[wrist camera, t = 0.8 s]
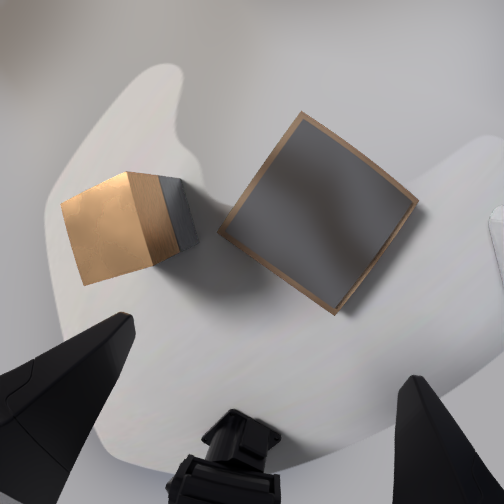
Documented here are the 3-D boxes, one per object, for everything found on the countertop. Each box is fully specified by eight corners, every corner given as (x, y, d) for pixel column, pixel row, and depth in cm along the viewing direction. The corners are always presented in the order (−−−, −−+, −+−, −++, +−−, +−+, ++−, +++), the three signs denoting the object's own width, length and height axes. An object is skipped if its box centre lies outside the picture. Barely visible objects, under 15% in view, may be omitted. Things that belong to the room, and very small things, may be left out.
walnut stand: (331, 306, 25) (335, 317, 22) (223, 229, 25) (215, 232, 23) (408, 200, 23) (420, 200, 20) (300, 118, 23) (301, 109, 20)
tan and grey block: (199, 242, 25) (153, 265, 17) (143, 259, 26) (83, 286, 18) (180, 178, 25) (126, 171, 16) (126, 199, 26) (60, 203, 17)
